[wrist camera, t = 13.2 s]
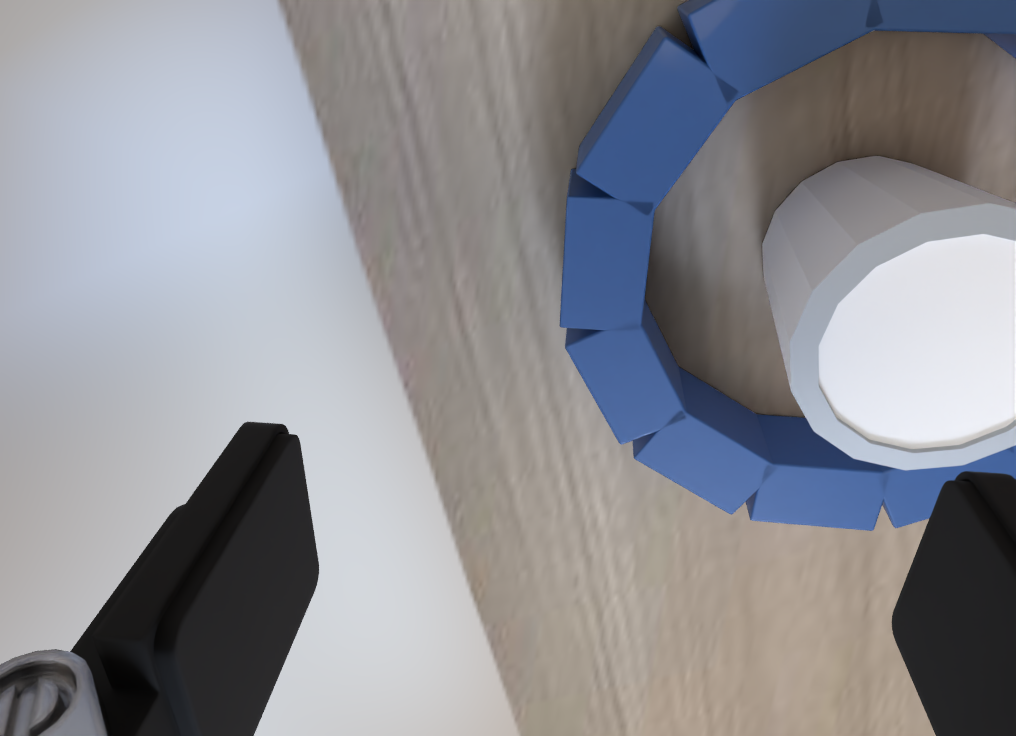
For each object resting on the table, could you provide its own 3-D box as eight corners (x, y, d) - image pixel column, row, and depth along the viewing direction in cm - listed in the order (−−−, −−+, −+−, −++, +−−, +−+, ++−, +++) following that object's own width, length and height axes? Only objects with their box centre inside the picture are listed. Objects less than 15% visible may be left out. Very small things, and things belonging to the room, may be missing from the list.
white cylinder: (1021, 253, 23) (1175, 363, 17) (823, 383, 26) (892, 517, 19) (894, 81, 21) (1015, 133, 15) (695, 241, 24) (728, 341, 18)
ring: (554, 453, 28) (549, 504, 26) (585, -87, 20) (583, -93, 17) (1042, 491, 27) (1090, 550, 24) (1303, -76, 18) (1420, -81, 16)
